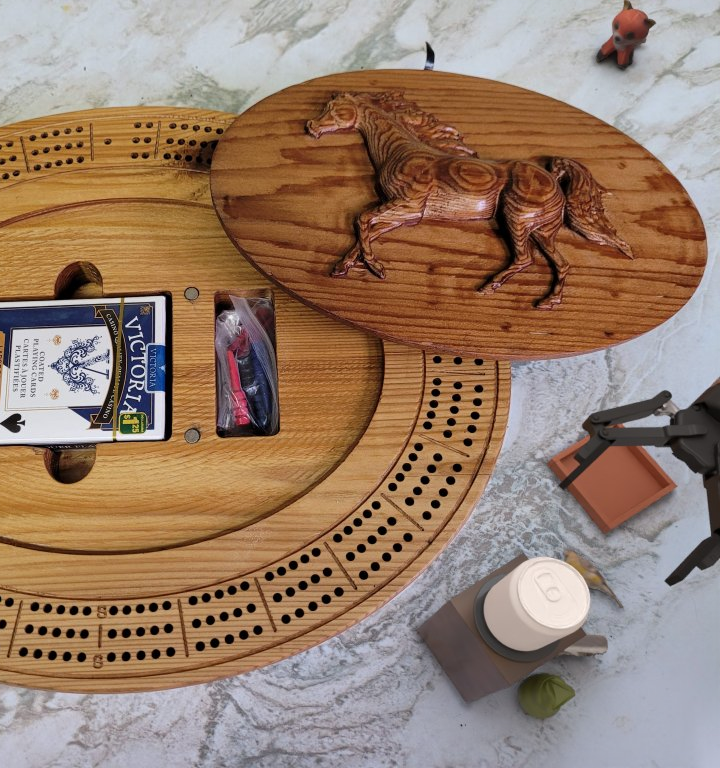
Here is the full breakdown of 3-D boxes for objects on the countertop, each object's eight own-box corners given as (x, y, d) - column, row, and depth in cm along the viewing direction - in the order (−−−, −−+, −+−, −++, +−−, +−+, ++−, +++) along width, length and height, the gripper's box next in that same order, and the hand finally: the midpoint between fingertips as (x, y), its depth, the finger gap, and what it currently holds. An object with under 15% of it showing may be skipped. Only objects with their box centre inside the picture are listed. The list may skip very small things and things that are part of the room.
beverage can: (505, 663, 92) (540, 646, 81) (468, 595, 95) (498, 570, 84) (568, 635, 93) (611, 615, 82) (530, 569, 96) (566, 541, 85)
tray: (670, 491, 121) (678, 486, 119) (604, 534, 118) (610, 529, 116) (610, 423, 126) (617, 417, 124) (546, 463, 123) (551, 458, 121)
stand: (531, 659, 111) (587, 634, 93) (466, 703, 109) (510, 686, 91) (480, 589, 116) (523, 552, 98) (416, 629, 114) (449, 599, 96)
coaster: (580, 633, 93) (582, 632, 93) (511, 679, 92) (512, 679, 91) (523, 558, 97) (524, 556, 97) (455, 601, 95) (456, 600, 95)
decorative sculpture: (560, 549, 118) (578, 535, 111) (628, 579, 116) (651, 566, 109) (526, 654, 112) (544, 646, 105) (598, 688, 109) (621, 681, 103)
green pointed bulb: (535, 669, 111) (561, 658, 102) (563, 704, 109) (592, 696, 100) (503, 692, 110) (527, 684, 101) (531, 729, 107) (557, 723, 98)
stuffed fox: (654, 52, 160) (684, -2, 149) (619, 81, 157) (647, 29, 146) (622, 32, 162) (649, -22, 152) (586, 61, 159) (611, 8, 149)
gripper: (821, 501, 90) (703, 631, 84) (631, 351, 99) (513, 459, 93) (867, 477, 83) (743, 617, 77) (659, 318, 92) (534, 433, 86)
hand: (617, 531), depth 85 cm, fingers open, 13 cm apart
